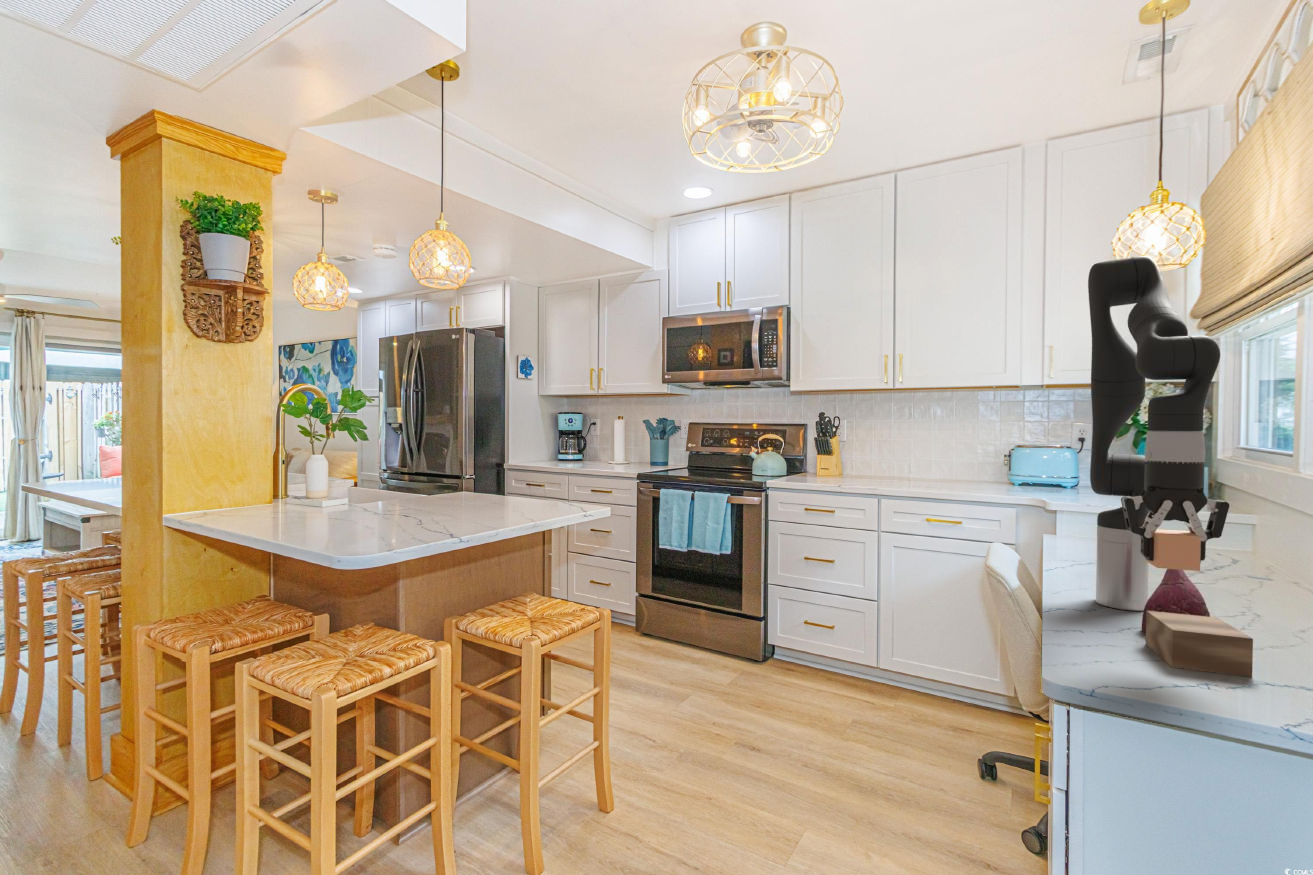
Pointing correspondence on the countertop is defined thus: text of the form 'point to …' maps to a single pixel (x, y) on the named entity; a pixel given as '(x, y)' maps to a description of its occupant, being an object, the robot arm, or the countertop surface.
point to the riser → (1199, 643)
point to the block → (1176, 550)
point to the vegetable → (1176, 597)
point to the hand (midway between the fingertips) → (1171, 560)
